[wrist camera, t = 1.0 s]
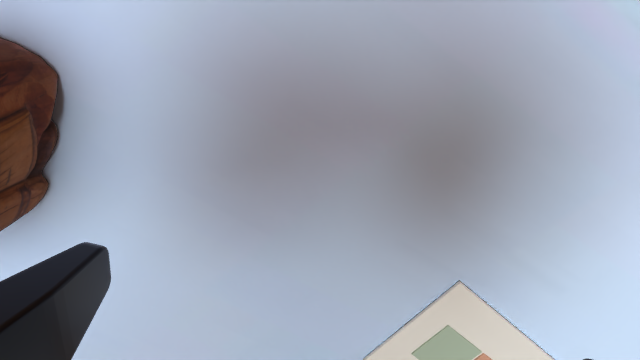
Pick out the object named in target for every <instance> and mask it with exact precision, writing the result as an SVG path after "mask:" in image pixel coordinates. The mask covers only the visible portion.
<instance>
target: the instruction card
mask: <svg viewBox="0 0 640 360" xmlns="http://www.w3.org/2000/svg"><path fill="white" fill-rule="evenodd" d="M363 360H554V359H553V358H552V357H551V356H550V355H548V354H547V353H546V352H545V351H544V350H542V349H541V348H540V347H539V346H538V345H536V344H535V343H534V342H533V341H531V340H530V339H529V338H528V337H527V336H525V335H524V334H523V333H522V332H521V331H519V330H518V329H517V328H516V327H515V326H513V325H512V324H511V323H510V322H509V321H507V320H506V319H505V318H504V317H502V316H501V315H500V314H499V313H498V312H496V311H495V310H494V309H493V308H492V307H490V306H489V305H488V304H487V303H486V302H484V301H483V300H482V299H481V298H480V297H478V296H477V295H476V294H475V293H473V292H472V291H471V290H470V289H469V288H467V287H466V286H465V285H464V284H463V283H461V282H460V281H459V282H457V283H456V284H455V285H454V286H452V287H451V288H450V289H449V290H447V291H446V292H445V293H444V294H443V295H441V296H440V297H439V298H438V299H436V300H435V301H434V302H433V303H431V304H430V305H429V306H428V307H427V308H425V309H424V310H423V311H422V312H420V313H419V314H418V315H417V316H415V317H414V318H413V319H412V320H411V321H409V322H408V323H407V324H406V325H404V326H403V327H402V328H401V329H399V330H398V331H397V332H396V333H394V334H393V335H392V336H391V337H390V338H388V339H387V340H386V341H385V342H383V343H382V344H381V345H380V346H378V347H377V348H376V349H375V350H374V351H372V352H371V353H370V354H369V355H367V356H366V357H365V358H364V359H363Z"/></svg>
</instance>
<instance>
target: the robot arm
mask: <svg viewBox="0 0 640 360" xmlns="http://www.w3.org/2000/svg"><path fill="white" fill-rule="evenodd" d="M110 282H111V273H110V262H109V253H108V250H107V248H106V247H104V246H101V245H97V244H93V243H88V242H84V243H80V244H78V245H76V246H74V247H72V248H70V249H68V250H65V251H63V252H61V253H59V254H57V255H55V256H53V257H51V258H49V259H47V260H45V261H42V262H40V263H38V264H36V265H34V266H32V267H30V268H28V269H26V270H24V271H21V272H19V273H17V274H15V275H13V276H11V277H9V278H7V279H5V280H3V281H1V282H0V360H71V359H72V357H73V355H74V353H75V352H76V350H77V348H78V346H79V344H80V342H81V340H82V338H83V336H84V334H85V333H86V331H87V329H88V327H89V325H90V323H91V321H92V319H93V317H94V315H95V314H96V312H97V310H98V308H99V306H100V304H101V302H102V300H103V298H104V297H105V295H106V293H107V291H108V288H109V286H110ZM583 360H592V359H583Z"/></svg>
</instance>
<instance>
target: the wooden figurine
mask: <svg viewBox="0 0 640 360" xmlns="http://www.w3.org/2000/svg"><path fill="white" fill-rule="evenodd" d="M57 81H58V75H57V74H56V72H55V71H54V70H53V69H52V68H51V67H50V66H48V65H47V64H46V62H45V61H44V60H43V59H42V58H41V57H40V56H38V55H36V54H34V53H32V52H30V51H28V50H26V49H24V48H23V47H21V46H19V45H18V44H16V43H13V42H10V41H7V40H4V39H2V38H0V231H1V230H3V229H4V228H6V227H8V226H9V225H10V224H12V223H13V222H15V221H16V220H18V219H19V218H20V217H22V216H23V215H25V214H26V213H28V212H29V211H31V210H32V209H33V208H34V207H35V206H36V205H37V204H38V202H39V201H40V200H41V199H42V198H43V196H44V195H45V193H46V191H47V188H48V182H47V180H46V179H45V178H44V177H43V176H42V169H43V167H44V166H45V164H46V163H47V161H48V160H49V158H50V156H51V154H52V150H53V149H54V146H55V144H56V141H57V137H58V132H57V127H56V125H55V123H54V122H53V121H52V120H51V118H52V113H53V109H54V105H55V100H56V95H57Z"/></svg>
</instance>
